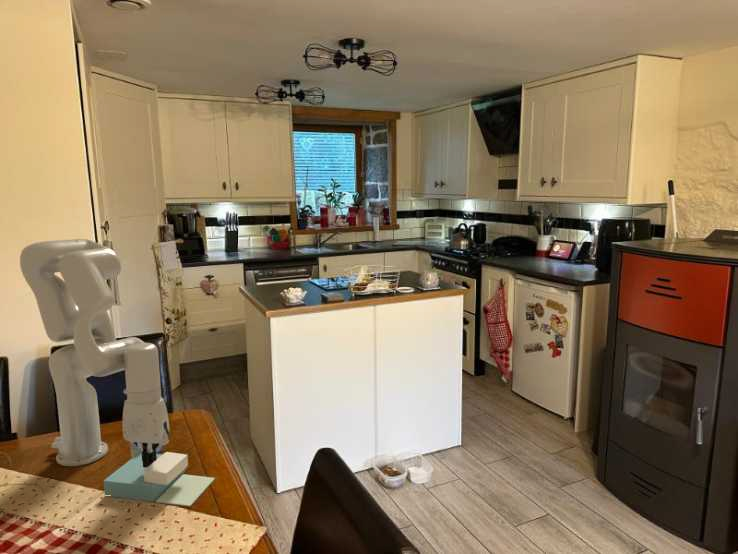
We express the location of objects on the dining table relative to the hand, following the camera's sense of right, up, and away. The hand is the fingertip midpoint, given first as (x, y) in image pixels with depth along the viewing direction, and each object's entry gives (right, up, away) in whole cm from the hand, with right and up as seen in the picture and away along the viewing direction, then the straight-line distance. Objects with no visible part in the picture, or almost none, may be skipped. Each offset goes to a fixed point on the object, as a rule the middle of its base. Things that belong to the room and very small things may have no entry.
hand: (149, 464), depth 127 cm
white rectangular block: (+4, -2, -1) cm, 5 cm away
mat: (+9, -6, -1) cm, 11 cm away
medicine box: (-7, -4, +16) cm, 18 cm away
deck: (-2, -5, +2) cm, 6 cm away
